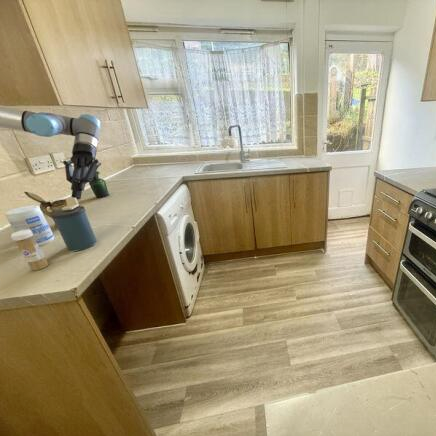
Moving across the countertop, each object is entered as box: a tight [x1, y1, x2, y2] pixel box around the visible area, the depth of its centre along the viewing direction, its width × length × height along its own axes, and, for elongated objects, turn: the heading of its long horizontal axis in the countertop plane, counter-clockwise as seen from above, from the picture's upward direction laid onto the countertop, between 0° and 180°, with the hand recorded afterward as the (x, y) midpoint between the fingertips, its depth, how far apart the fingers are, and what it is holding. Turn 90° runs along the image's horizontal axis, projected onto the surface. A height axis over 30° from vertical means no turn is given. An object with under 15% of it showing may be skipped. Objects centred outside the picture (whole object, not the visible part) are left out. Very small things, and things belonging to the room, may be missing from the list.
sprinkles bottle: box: [10, 230, 50, 271], centre depth 80 cm, size 5×5×13 cm
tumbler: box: [51, 205, 97, 253], centre depth 93 cm, size 10×10×15 cm
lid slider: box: [61, 197, 80, 210], centre depth 90 cm, size 4×3×3 cm
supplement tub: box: [4, 205, 55, 247], centre depth 96 cm, size 10×10×15 cm
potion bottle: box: [88, 170, 110, 199], centre depth 150 cm, size 8×8×18 cm
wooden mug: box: [23, 191, 67, 227], centre depth 112 cm, size 9×14×18 cm, turn 126°
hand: (75, 197), depth 94 cm, fingers closed
